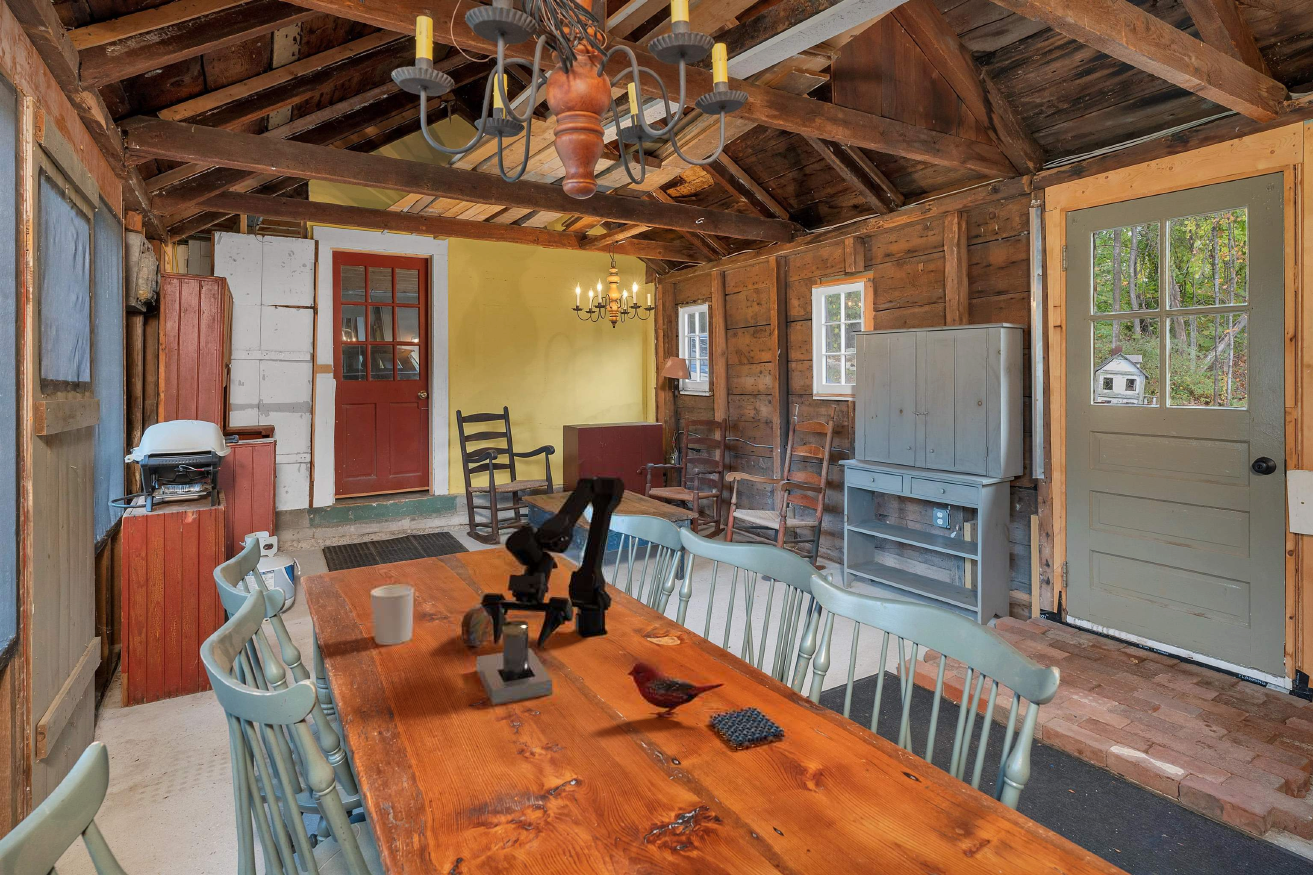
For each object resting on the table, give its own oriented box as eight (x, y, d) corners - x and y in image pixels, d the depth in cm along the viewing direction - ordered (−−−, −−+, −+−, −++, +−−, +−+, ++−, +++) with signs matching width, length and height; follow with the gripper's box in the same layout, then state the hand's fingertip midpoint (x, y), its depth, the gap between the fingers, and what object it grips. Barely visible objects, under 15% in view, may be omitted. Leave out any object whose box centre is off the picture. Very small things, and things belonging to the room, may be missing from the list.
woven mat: (735, 754, 112) (735, 743, 112) (705, 726, 122) (705, 715, 122) (788, 741, 117) (788, 730, 116) (755, 714, 126) (755, 704, 126)
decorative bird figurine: (627, 711, 126) (627, 659, 126) (723, 713, 126) (723, 660, 125) (626, 719, 124) (626, 665, 123) (724, 720, 123) (724, 666, 122)
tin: (471, 652, 156) (471, 616, 155) (459, 651, 156) (458, 615, 156) (499, 629, 170) (499, 596, 170) (488, 628, 171) (487, 595, 170)
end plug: (525, 680, 140) (524, 618, 139) (531, 690, 136) (530, 626, 135) (501, 684, 138) (499, 622, 137) (506, 695, 133) (505, 630, 133)
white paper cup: (423, 634, 167) (422, 586, 166) (396, 648, 157) (394, 598, 157) (391, 629, 170) (389, 582, 169) (362, 643, 161) (360, 593, 160)
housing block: (530, 661, 150) (530, 648, 150) (552, 693, 134) (552, 679, 134) (476, 670, 145) (476, 656, 145) (492, 705, 129) (492, 690, 129)
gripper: (484, 555, 143) (460, 624, 133) (568, 559, 139) (551, 630, 129) (500, 581, 151) (478, 648, 141) (580, 586, 148) (564, 655, 137)
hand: (516, 645), depth 137 cm, fingers open, 9 cm apart
